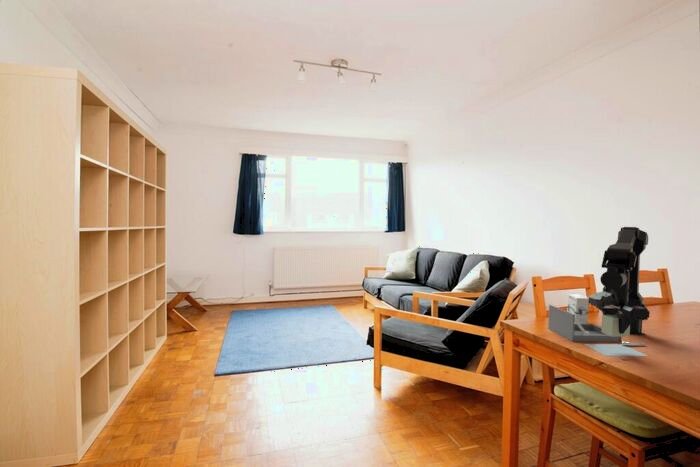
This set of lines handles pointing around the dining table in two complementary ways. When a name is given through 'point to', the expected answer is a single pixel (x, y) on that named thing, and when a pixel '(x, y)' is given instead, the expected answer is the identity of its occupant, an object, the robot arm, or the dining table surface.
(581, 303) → the ink box
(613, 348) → the blue-grey flat plate
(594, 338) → the equipment case
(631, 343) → the rod
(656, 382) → the dining table surface
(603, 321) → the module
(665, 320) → the dining table surface
